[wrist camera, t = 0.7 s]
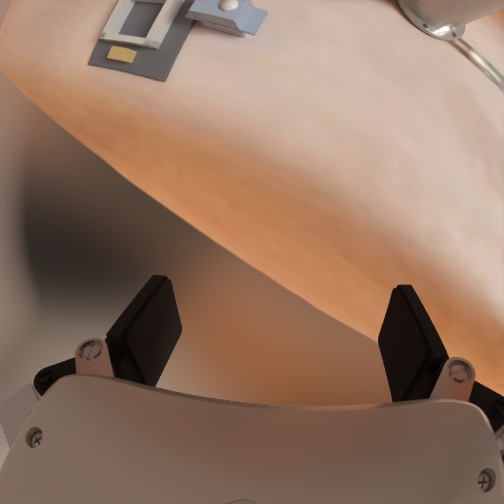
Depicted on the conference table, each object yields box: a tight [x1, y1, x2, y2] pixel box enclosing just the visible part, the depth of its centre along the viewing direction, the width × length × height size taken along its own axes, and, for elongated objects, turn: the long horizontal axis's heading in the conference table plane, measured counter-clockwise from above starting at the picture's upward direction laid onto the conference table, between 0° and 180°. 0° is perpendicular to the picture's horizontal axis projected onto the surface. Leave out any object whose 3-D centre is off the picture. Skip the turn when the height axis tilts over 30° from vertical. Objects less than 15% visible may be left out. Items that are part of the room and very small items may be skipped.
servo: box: [185, 0, 268, 38], centre depth 23 cm, size 4×10×7 cm, turn 65°
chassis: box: [88, 0, 196, 82], centre depth 25 cm, size 18×16×4 cm
